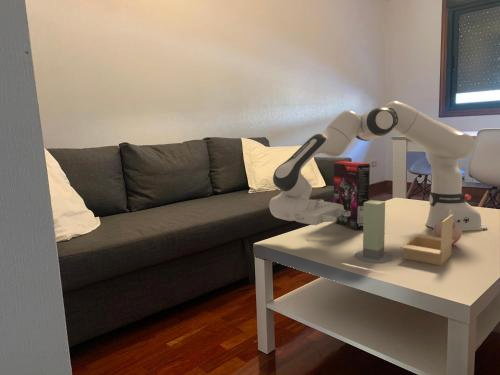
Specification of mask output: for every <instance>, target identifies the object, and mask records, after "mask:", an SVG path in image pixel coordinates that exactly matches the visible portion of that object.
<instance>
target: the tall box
mask: <svg viewBox="0 0 500 375" xmlns="http://www.w3.org/2000/svg"><path fill="white" fill-rule="evenodd" d="M385 221H386V201H382V200H372V199H369V201H367V202H364V210H363V229H362V230H363V232H362V251H363V257H366V258H371V259H376V260H378V259H380V258H381V257H383V256H384V252H385V236H386V235H385V230H386V229H385V227H386V225H385V223H386V222H385Z"/></svg>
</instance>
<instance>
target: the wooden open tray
mask: <svg viewBox="0 0 500 375" xmlns="http://www.w3.org/2000/svg"><path fill="white" fill-rule="evenodd" d="M452 231H453V214H452V215H450V216H449V217H448V218H446V219H445V220H443V221H442V229H441V238H440V237H435V235H434V236H433V235H426V234H417V235H416V236H415V237H413V238H412V239H410V240H409V241H407V242H406V243H404V244H403V245H402V246H400V249H402V250H403V259H405V260H412V261H417V262H421V263H427V264H433V265H437V266H442V265H444V264H445V263H446V261H448V259H449V258H450V257H451V256H452V247H453V244H452V243H453V242H454V239H452Z"/></svg>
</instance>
